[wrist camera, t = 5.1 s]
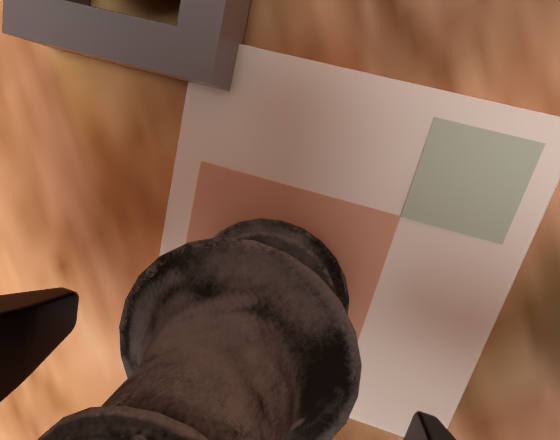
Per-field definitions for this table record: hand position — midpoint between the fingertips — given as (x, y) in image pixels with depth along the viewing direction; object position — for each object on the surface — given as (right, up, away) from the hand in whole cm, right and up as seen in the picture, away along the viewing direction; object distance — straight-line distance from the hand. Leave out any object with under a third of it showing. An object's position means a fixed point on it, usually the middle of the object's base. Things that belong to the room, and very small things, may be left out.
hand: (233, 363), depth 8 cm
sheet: (+3, +2, +4) cm, 6 cm away
